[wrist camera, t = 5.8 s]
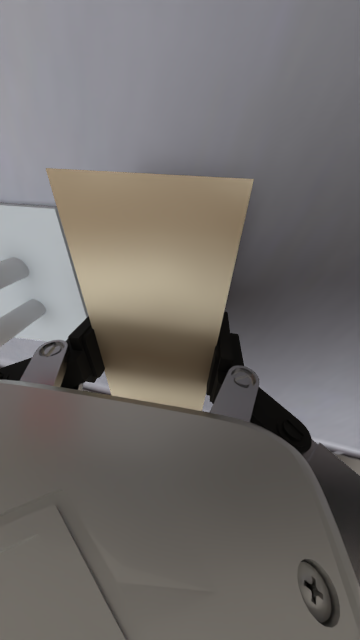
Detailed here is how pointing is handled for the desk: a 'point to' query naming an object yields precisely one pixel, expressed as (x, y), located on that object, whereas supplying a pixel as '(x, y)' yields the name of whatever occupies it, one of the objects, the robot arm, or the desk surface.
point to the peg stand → (37, 276)
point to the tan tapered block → (153, 273)
